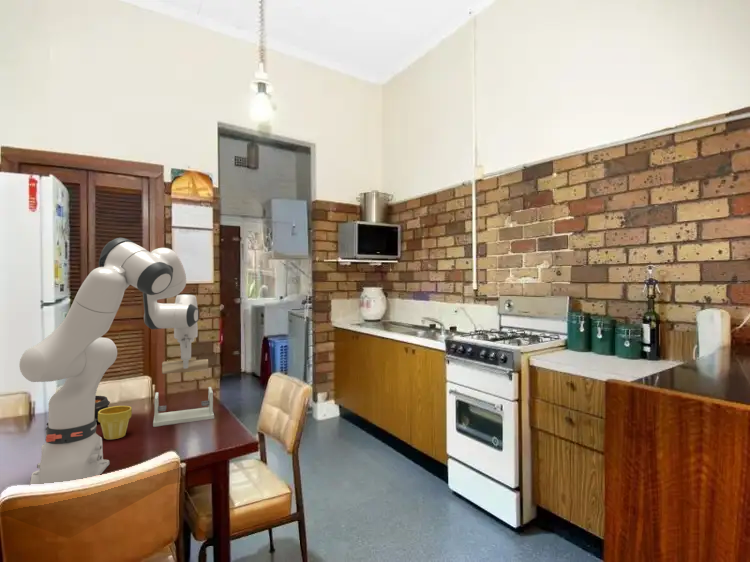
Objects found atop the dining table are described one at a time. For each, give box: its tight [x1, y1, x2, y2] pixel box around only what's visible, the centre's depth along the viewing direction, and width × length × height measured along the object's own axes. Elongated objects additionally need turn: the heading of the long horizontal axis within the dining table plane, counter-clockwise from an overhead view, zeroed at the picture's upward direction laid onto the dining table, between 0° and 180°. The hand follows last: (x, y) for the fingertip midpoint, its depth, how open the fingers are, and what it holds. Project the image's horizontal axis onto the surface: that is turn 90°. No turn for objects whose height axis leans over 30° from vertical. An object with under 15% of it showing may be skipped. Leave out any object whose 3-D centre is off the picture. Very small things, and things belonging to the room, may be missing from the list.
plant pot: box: [97, 405, 133, 441], centre depth 148 cm, size 10×10×10 cm
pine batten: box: [161, 358, 209, 375], centre depth 168 cm, size 4×17×4 cm, turn 113°
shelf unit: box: [152, 386, 215, 428], centre depth 168 cm, size 12×22×10 cm, turn 116°
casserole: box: [46, 395, 111, 426], centre depth 164 cm, size 25×19×8 cm
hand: (185, 366), depth 168 cm, fingers closed on pine batten, 4 cm apart
